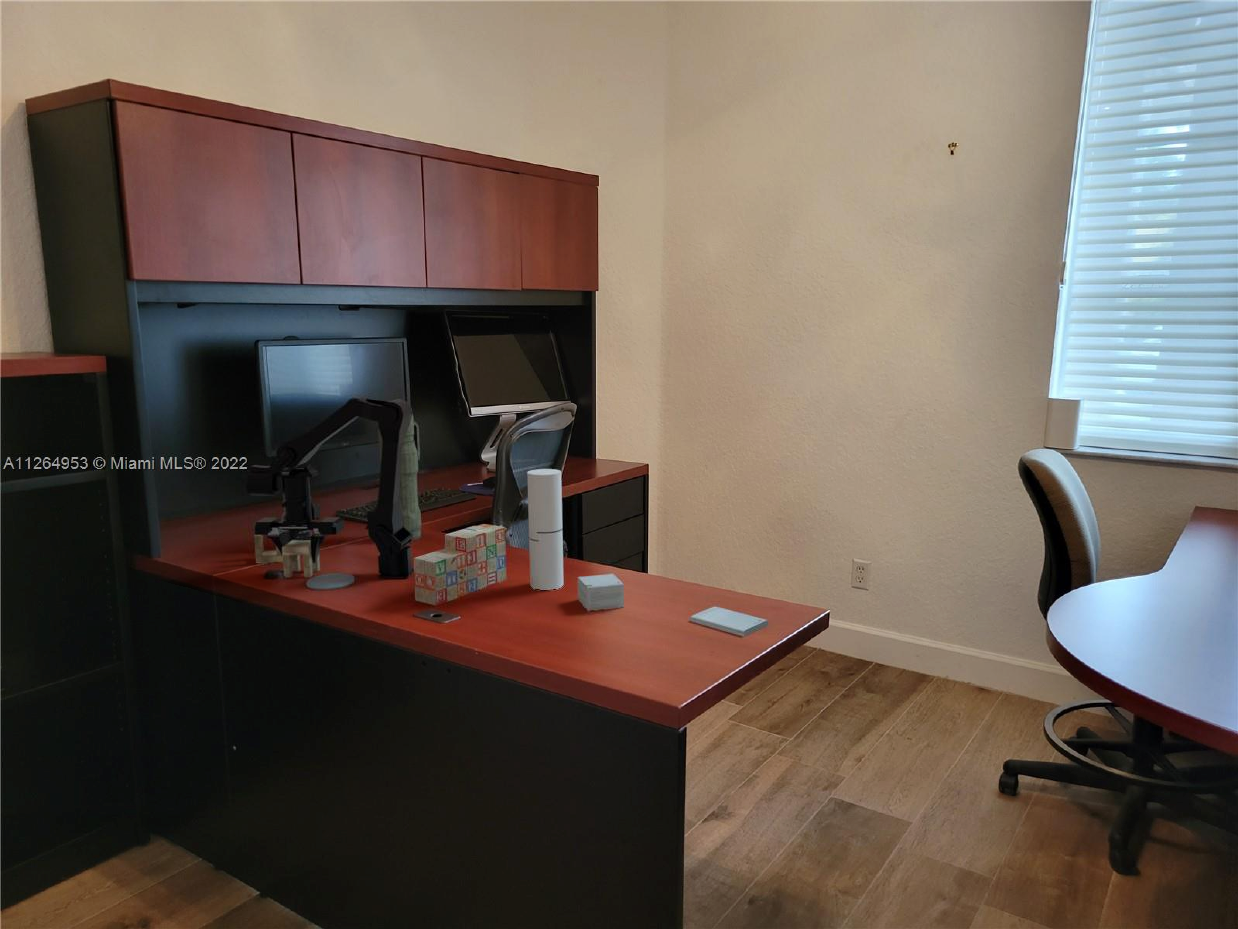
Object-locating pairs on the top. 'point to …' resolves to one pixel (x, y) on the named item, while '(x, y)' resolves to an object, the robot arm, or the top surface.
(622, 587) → the stack of note paper
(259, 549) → the upturned stool
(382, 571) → the robot arm
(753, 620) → the hard drive
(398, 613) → the top surface
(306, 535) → the supplement bottle
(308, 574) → the wooden stool
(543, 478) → the cylindrical container
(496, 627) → the top surface
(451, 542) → the stack of blocks
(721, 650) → the top surface
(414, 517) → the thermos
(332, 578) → the pad
